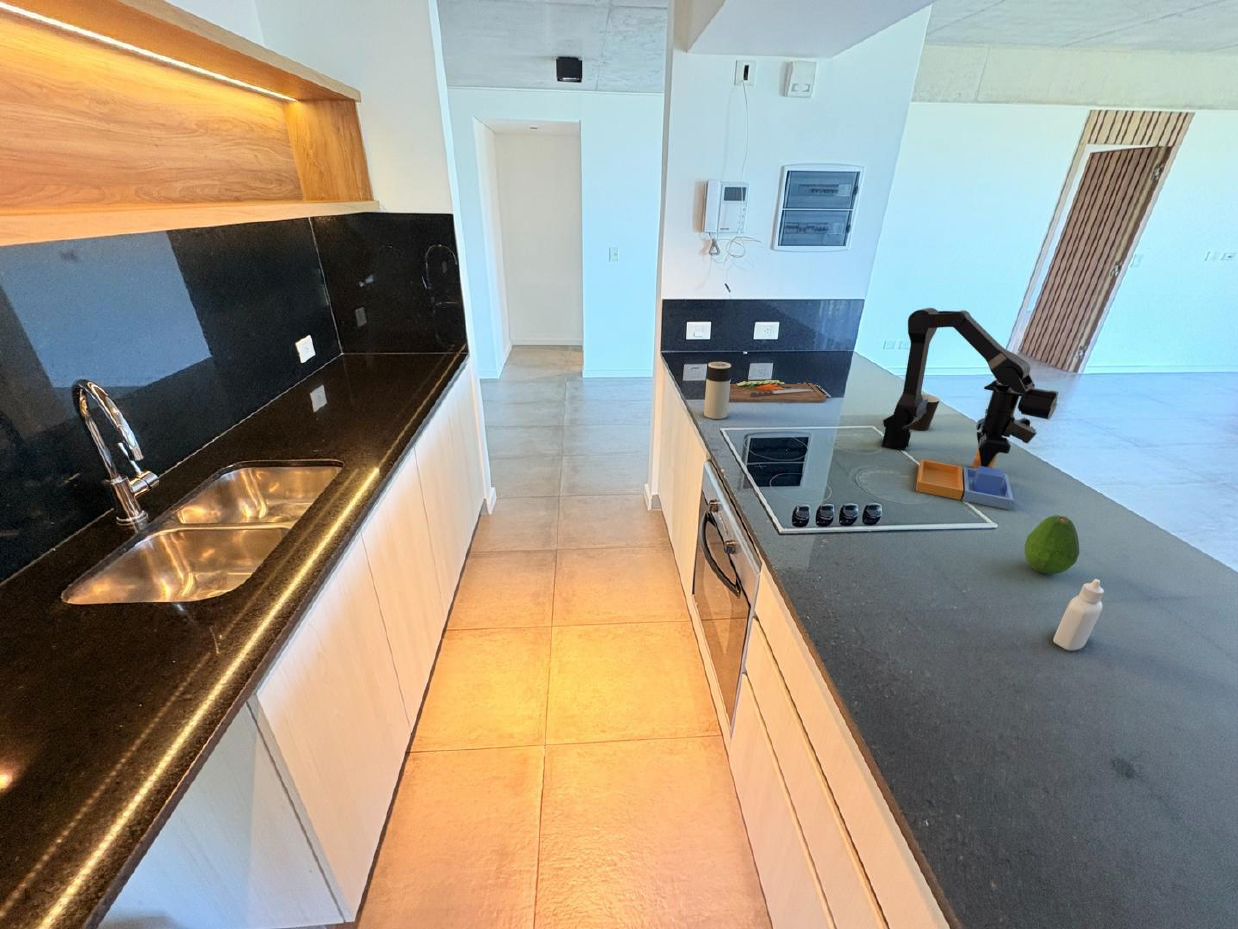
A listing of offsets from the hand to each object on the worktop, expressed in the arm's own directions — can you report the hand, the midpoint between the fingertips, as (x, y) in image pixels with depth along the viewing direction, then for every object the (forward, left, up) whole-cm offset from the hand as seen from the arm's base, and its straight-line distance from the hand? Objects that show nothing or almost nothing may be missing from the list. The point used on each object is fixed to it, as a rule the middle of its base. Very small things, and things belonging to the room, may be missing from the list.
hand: (983, 464), depth 141 cm
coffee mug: (-17, +30, -2) cm, 35 cm away
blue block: (0, -14, -1) cm, 14 cm away
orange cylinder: (0, 0, -1) cm, 1 cm away
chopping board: (-70, +44, -2) cm, 83 cm away
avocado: (+8, -47, -2) cm, 48 cm away
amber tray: (-10, -14, -2) cm, 17 cm away
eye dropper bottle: (+9, -68, -2) cm, 69 cm away
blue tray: (0, -14, -2) cm, 14 cm away
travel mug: (-78, +7, -2) cm, 78 cm away
